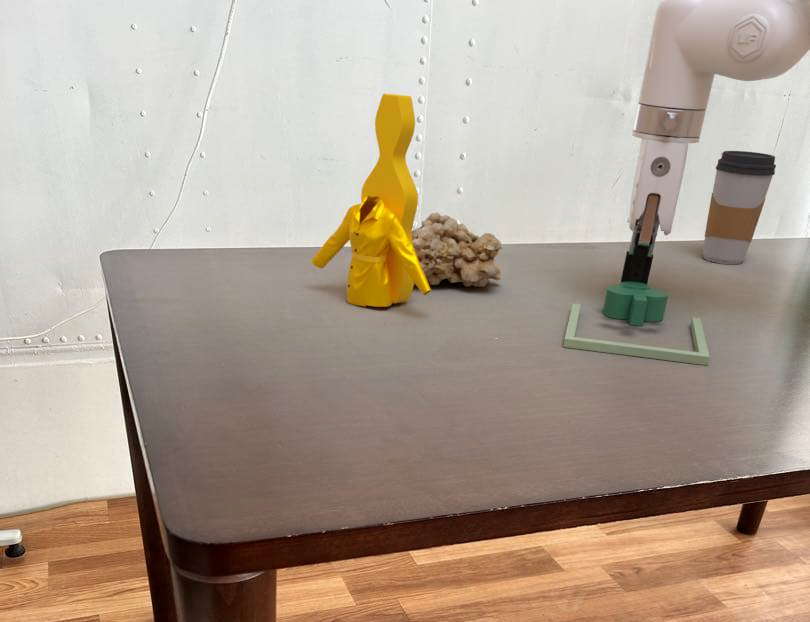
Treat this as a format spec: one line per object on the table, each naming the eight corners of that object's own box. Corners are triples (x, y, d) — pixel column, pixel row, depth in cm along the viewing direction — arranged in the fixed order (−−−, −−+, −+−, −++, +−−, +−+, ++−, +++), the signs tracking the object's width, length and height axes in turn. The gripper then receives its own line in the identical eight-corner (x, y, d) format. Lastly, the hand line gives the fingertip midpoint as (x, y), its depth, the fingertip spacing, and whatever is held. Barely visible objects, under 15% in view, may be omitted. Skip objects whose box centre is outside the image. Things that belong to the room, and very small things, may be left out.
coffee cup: (750, 269, 123) (779, 160, 115) (692, 261, 125) (717, 154, 117) (750, 257, 129) (778, 154, 121) (696, 250, 132) (720, 148, 124)
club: (667, 328, 95) (673, 302, 94) (605, 322, 96) (609, 297, 94) (657, 308, 102) (663, 284, 101) (600, 303, 103) (604, 279, 101)
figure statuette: (300, 292, 100) (297, 87, 88) (343, 280, 105) (345, 86, 94) (417, 325, 91) (430, 103, 80) (456, 311, 97) (474, 101, 85)
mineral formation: (397, 291, 102) (395, 254, 114) (499, 313, 104) (487, 274, 116) (412, 226, 98) (408, 195, 110) (518, 250, 100) (503, 217, 112)
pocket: (571, 311, 99) (572, 303, 99) (698, 326, 97) (700, 318, 96) (563, 347, 88) (564, 338, 87) (707, 365, 85) (709, 356, 85)
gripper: (705, 134, 86) (664, 307, 96) (698, 122, 98) (662, 276, 108) (633, 127, 87) (600, 298, 97) (635, 115, 100) (605, 268, 110)
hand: (633, 286), depth 103 cm, fingers closed
